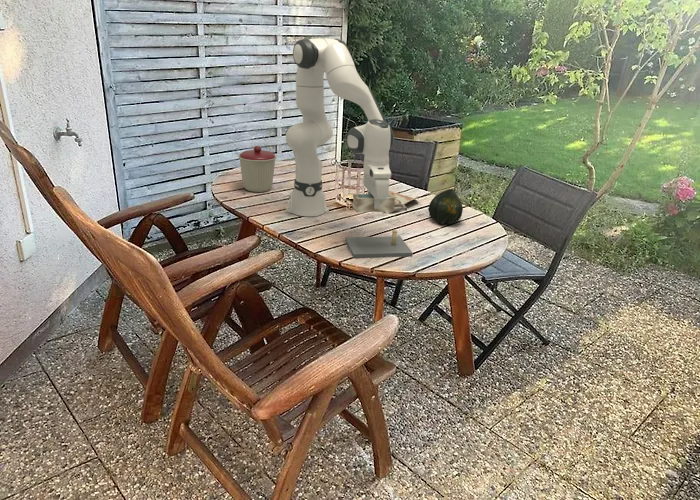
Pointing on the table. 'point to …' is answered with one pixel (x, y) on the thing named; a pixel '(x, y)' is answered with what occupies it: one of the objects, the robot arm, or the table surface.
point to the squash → (446, 207)
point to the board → (378, 246)
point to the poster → (400, 199)
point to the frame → (367, 200)
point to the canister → (257, 169)
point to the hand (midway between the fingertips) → (373, 205)
